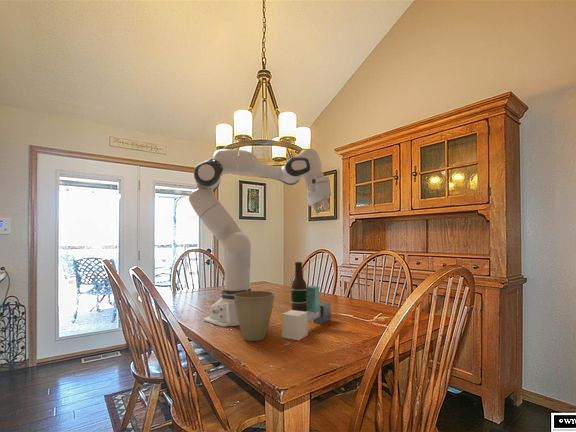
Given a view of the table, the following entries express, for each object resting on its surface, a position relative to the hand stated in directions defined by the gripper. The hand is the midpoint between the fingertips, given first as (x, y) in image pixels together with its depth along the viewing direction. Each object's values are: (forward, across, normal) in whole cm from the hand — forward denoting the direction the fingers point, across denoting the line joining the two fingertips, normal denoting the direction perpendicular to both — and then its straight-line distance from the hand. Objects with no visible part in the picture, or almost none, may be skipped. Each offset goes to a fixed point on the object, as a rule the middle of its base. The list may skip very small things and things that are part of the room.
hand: (321, 211), depth 147 cm
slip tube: (+44, +6, -16) cm, 47 cm away
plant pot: (+44, +13, -43) cm, 63 cm away
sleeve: (+47, 0, -11) cm, 49 cm away
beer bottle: (+45, -20, -14) cm, 51 cm away
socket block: (+46, +16, -28) cm, 57 cm away
